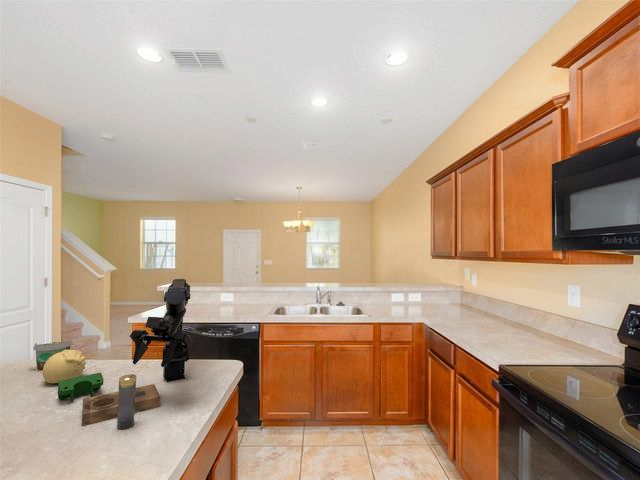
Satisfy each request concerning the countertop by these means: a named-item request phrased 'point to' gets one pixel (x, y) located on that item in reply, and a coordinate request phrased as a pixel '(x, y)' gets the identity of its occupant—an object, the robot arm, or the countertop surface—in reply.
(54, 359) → the sculpture
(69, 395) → the clamp
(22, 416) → the countertop surface
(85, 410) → the socket plate
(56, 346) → the food container
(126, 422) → the grey and gold cylinder
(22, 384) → the countertop surface
